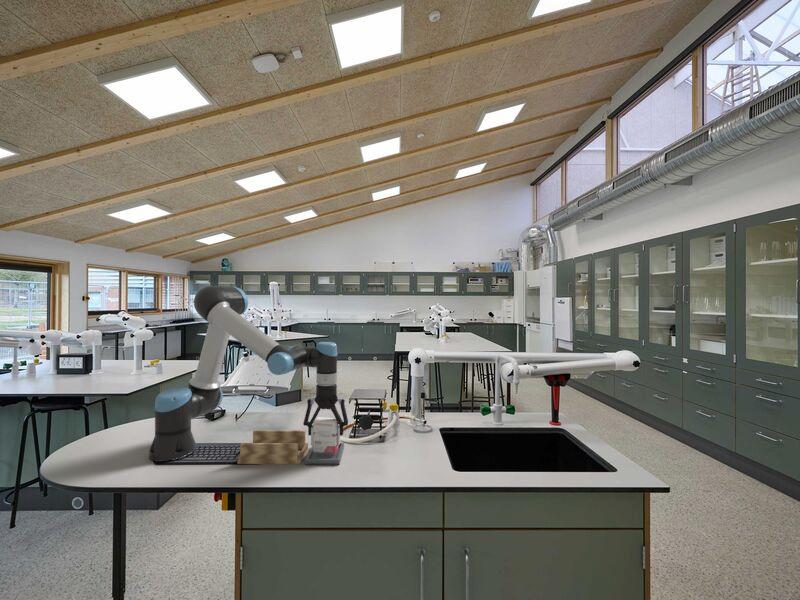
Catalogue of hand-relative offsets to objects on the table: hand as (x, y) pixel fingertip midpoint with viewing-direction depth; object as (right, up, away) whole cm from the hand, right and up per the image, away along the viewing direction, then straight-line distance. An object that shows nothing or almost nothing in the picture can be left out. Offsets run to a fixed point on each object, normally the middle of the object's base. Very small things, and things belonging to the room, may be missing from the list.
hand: (325, 443), depth 144 cm
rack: (-19, -4, -1) cm, 19 cm away
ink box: (0, -3, 0) cm, 3 cm away
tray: (0, -4, 0) cm, 4 cm away
